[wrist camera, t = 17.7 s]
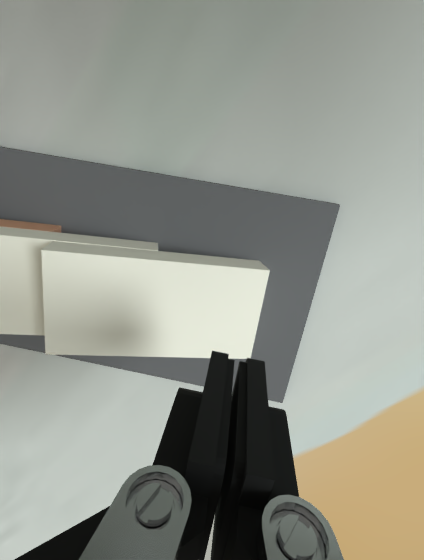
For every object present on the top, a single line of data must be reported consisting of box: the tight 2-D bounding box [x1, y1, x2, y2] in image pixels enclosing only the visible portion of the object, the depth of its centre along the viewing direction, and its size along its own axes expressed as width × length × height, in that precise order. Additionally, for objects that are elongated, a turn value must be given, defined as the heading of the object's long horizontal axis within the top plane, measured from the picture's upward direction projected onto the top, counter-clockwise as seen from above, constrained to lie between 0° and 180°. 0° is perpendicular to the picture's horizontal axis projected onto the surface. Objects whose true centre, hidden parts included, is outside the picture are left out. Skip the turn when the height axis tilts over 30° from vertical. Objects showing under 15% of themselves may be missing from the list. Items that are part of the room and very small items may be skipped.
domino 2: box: [41, 241, 270, 359], centre depth 15 cm, size 2×5×10 cm
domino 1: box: [0, 226, 158, 336], centre depth 15 cm, size 2×5×10 cm
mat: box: [0, 147, 340, 403], centre depth 18 cm, size 30×12×1 cm, turn 81°
